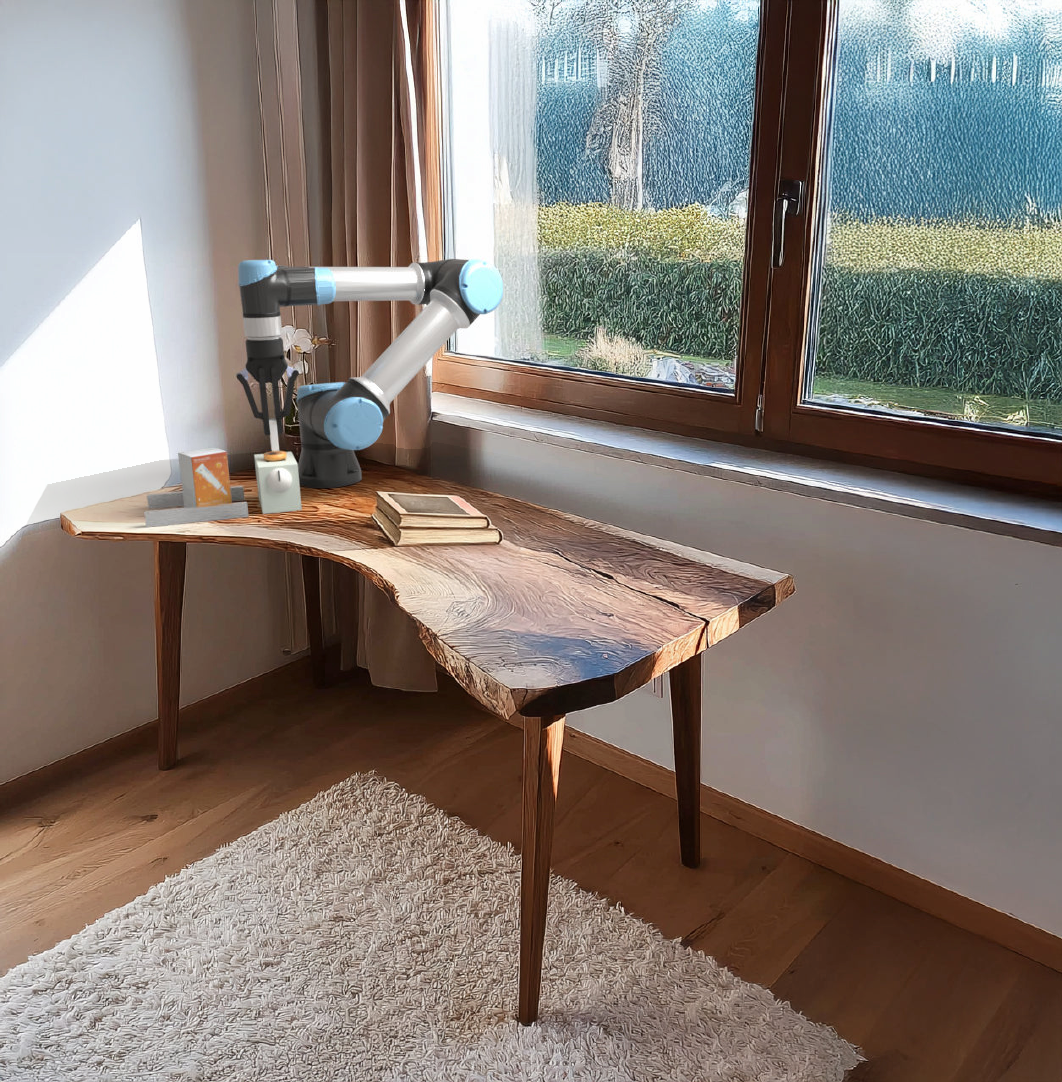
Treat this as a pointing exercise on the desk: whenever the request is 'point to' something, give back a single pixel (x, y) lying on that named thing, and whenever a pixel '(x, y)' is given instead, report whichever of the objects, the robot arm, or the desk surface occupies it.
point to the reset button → (275, 456)
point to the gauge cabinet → (278, 484)
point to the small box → (205, 477)
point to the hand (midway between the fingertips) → (275, 449)
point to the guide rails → (192, 509)
